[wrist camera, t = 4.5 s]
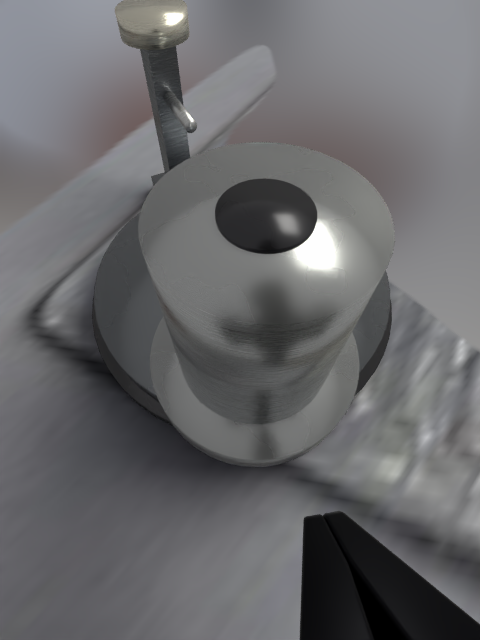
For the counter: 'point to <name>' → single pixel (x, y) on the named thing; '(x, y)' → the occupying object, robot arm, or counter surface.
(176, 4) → the stand
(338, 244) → the cover
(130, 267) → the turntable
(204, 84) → the counter surface
